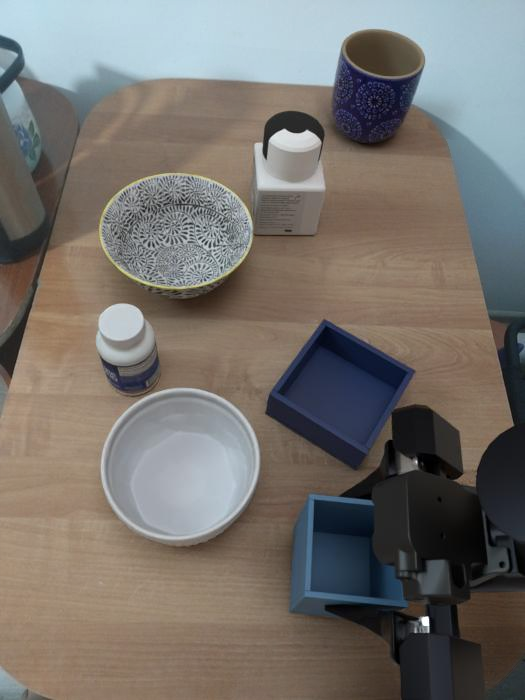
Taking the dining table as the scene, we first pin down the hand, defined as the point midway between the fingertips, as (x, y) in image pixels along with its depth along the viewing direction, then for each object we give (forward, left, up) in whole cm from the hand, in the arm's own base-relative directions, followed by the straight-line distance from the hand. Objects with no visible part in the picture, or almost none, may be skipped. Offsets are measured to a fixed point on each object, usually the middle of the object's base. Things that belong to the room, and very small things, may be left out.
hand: (329, 555), depth 42 cm
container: (+19, -38, -8) cm, 44 cm away
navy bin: (+4, -16, -8) cm, 19 cm away
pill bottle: (+24, -10, -8) cm, 27 cm away
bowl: (+26, -24, -8) cm, 36 cm away
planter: (+15, -59, -8) cm, 62 cm away
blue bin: (-1, 0, -6) cm, 7 cm away
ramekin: (+14, -2, -8) cm, 16 cm away
